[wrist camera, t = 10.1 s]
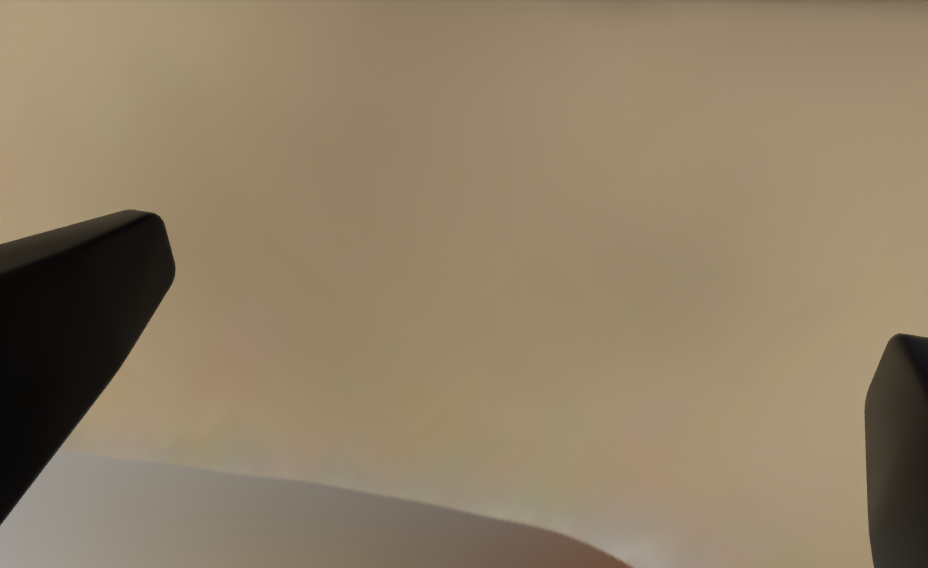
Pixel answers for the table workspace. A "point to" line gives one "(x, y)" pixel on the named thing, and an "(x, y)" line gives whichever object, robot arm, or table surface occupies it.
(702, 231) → the table surface
